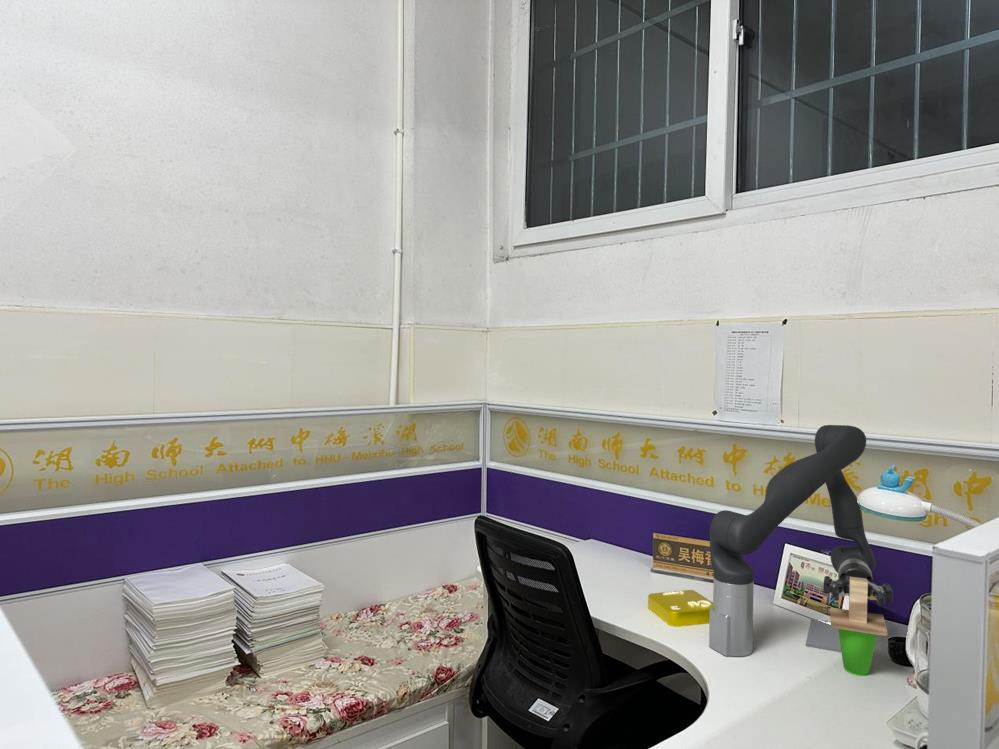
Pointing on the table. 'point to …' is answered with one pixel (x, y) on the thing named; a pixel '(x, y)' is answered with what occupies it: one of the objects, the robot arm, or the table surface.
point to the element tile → (681, 607)
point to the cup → (857, 651)
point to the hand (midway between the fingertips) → (858, 599)
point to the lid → (858, 612)
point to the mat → (823, 636)
